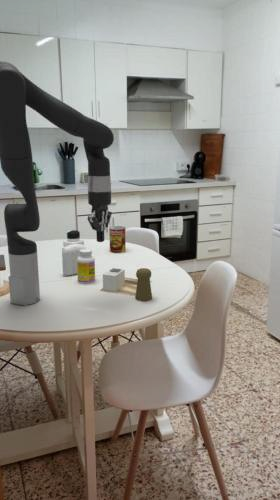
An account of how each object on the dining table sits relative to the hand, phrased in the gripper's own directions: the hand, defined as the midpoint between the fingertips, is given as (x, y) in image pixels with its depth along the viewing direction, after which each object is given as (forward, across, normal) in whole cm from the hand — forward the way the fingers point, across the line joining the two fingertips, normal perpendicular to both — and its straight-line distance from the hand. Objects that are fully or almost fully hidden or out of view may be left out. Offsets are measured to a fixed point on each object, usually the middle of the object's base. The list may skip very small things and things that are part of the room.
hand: (100, 241), depth 137 cm
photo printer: (+21, +20, +23) cm, 37 cm away
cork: (+20, +4, -14) cm, 25 cm away
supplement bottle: (+21, +12, +13) cm, 27 cm away
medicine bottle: (+21, +44, +38) cm, 62 cm away
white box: (+20, +10, 0) cm, 22 cm away
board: (+20, +13, -3) cm, 24 cm away
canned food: (+21, +59, +23) cm, 67 cm away
